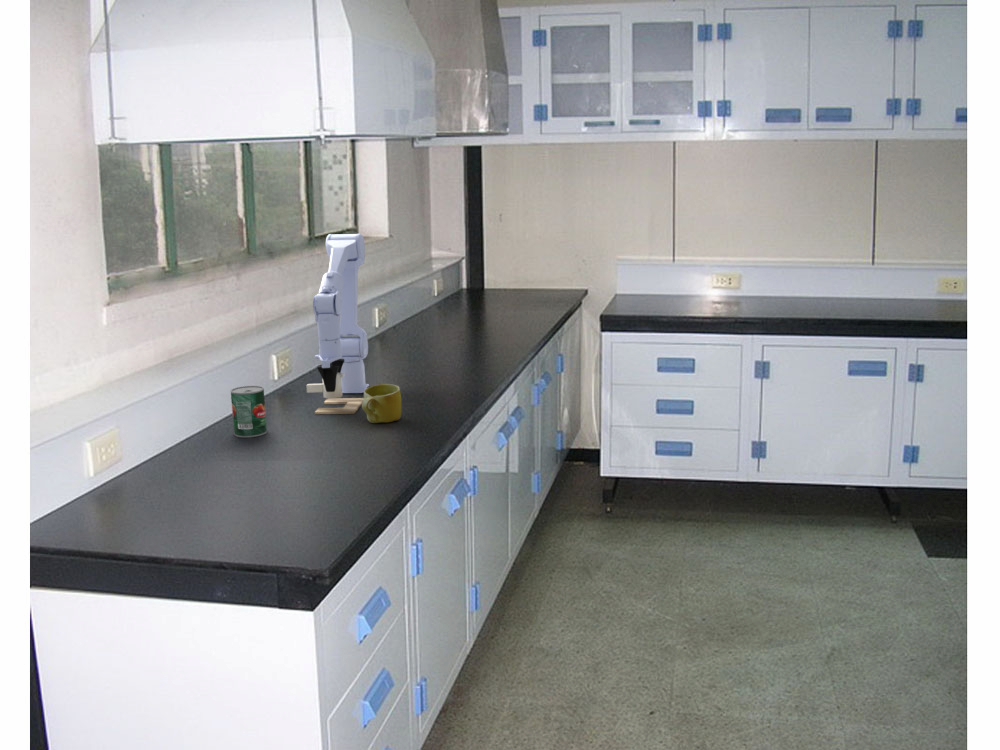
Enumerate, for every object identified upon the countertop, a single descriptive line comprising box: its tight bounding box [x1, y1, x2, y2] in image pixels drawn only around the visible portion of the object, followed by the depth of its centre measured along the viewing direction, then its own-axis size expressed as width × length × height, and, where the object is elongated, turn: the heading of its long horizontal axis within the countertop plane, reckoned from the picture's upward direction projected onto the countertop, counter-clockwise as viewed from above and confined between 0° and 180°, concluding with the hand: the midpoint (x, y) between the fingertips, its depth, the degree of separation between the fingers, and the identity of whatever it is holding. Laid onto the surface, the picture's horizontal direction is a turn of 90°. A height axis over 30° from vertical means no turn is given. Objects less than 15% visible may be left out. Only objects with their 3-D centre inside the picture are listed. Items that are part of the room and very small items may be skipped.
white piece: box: [306, 372, 345, 399], centre depth 274 cm, size 10×5×6 cm, turn 90°
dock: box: [314, 397, 364, 415], centre depth 275 cm, size 14×10×1 cm
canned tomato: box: [230, 385, 268, 438], centre depth 250 cm, size 8×8×11 cm
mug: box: [361, 383, 402, 424], centre depth 259 cm, size 12×10×10 cm
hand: (332, 389), depth 274 cm, fingers closed on white piece, 5 cm apart
